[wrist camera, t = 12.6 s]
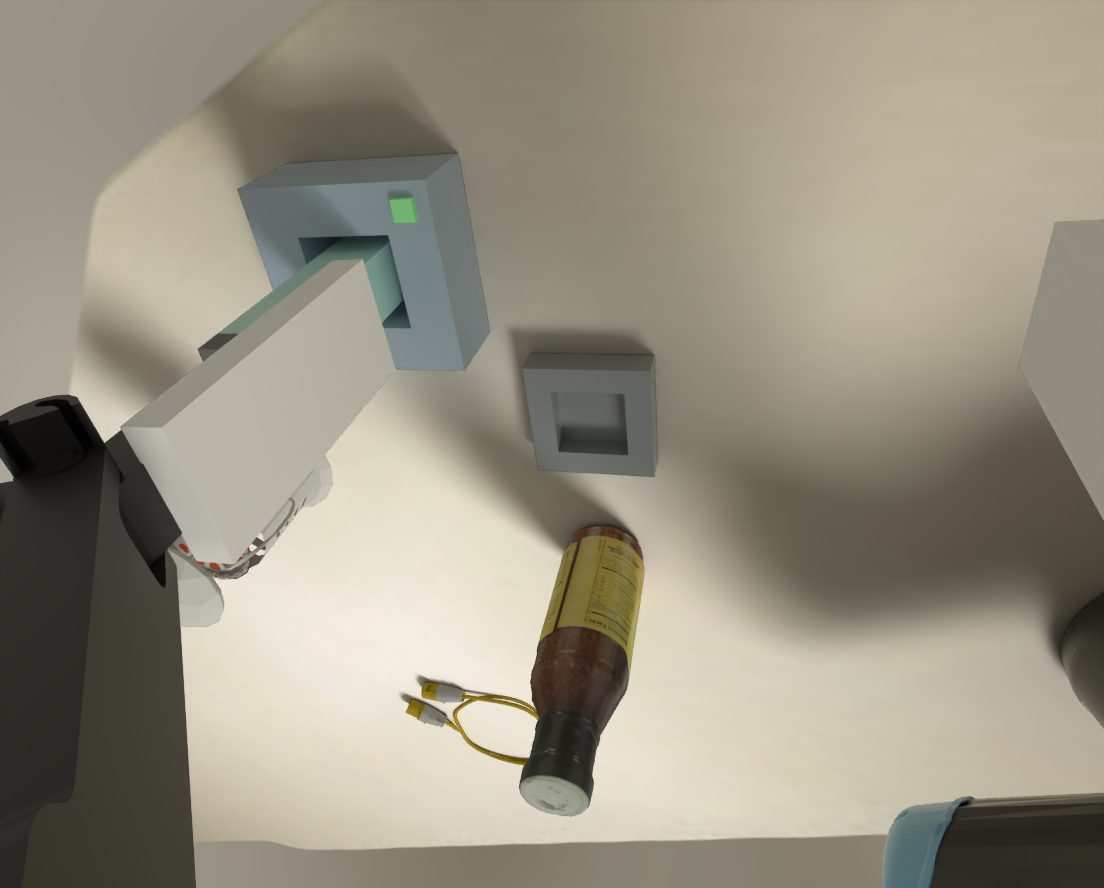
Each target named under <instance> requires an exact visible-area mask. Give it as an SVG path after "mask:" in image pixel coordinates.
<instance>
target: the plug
mask: <svg viewBox="0 0 1104 888" xmlns="http://www.w3.org/2000/svg"><path fill="white" fill-rule="evenodd" d="M354 259H363V261H364V265H365V268H366V272H367V275H368V278H369V282H370V285H371V288H372V292H373V295H374V298H375V302H376V305H377V308H378V312H379V315H380V319H381V322H383V321H384V320H385V319H386V318H387V317H388V316H389V315H390V314H391V313H392V312H393V311H394V309H395V308H396V307H397V306H398V305H399V304H400V303H401V302H402V301H403V300H404V297H403V293H402V289H401V285H400V281H399V277H398V273H397V269H396V265H395V261H394V257H393V252H392V248H391V244H390V240H389V236H388V235H374V236H343V237H342V238H340V239H339V240H338V241H337V242H335V243H334V244H333V245H331V246H330V247H329V248H328V249H326V250H325V251H324V252H322V253H321V254H320V255H318V256H317V257H316V258H315V259H313V260H312V261H311V262H309V263H308V264H307V265H306V266H304V267H303V268H302V269H300V270H299V271H298V272H297V273H295V274H294V275H293V276H291V277H290V278H289V279H288V280H286V281H285V282H284V283H282V284H281V285H280V286H278V287H277V288H276V289H275V290H273V291H272V292H271V293H269V294H268V295H267V296H266V297H264V298H263V299H262V300H260V301H259V302H258V303H257V304H255V305H254V306H253V307H251V308H250V309H249V310H248V311H246V312H245V313H244V314H242V315H241V316H240V317H239V318H237V319H236V320H235V321H233V322H232V323H231V324H229V325H228V326H227V327H226V328H224V329H223V330H222V331H220V332H219V333H218V334H217V335H215V336H214V337H213V338H211V339H210V340H209V341H208V342H206V343H205V344H204V345H202V346H201V347H200V348H199V349H198V351H199V354H200V356H201V358H202V360H203V361H205V360H206V359H207V358H209V357H210V356H211V355H212V354H214V353H215V352H216V351H218V350H219V349H220V348H221V347H223V346H224V345H225V344H226V343H228V342H229V341H230V340H232V339H233V338H234V337H235V336H237V335H238V334H239V333H240V332H242V331H243V330H244V329H246V328H247V327H248V326H249V325H251V324H252V323H253V322H254V321H256V320H257V319H258V318H260V317H261V316H262V315H263V314H265V313H266V312H267V311H269V310H270V309H271V308H272V307H274V306H275V305H276V304H277V303H279V302H280V301H281V300H283V299H284V298H285V297H286V296H288V295H289V294H290V293H291V292H293V291H294V290H295V289H297V288H298V287H299V286H300V285H302V284H303V283H304V282H305V281H307V280H308V279H309V278H311V277H312V276H313V275H314V274H316V273H317V272H318V271H320V270H321V269H322V268H323V267H325V266H326V265H327V264H328V263H330V262H331V261H335V260H354Z"/></svg>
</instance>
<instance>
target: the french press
mask: <svg viewBox="0 0 1104 888" xmlns="http://www.w3.org/2000/svg"><path fill="white" fill-rule="evenodd" d="M332 485H333V482H332V473H331V466H330V464H329V462H328V460H327V458H326V457H325V455H324V456H323V458H322V459H321V460H320V461H319V462H318V464H317V465H316V466H315V467H314V469H313V470H312V471H311V472H310V473H309V475H308V476H307V477H306V478H305V479H304V481H303V482H302V483H301V484H300V485H299V487H298V488H297V489H296V490H295V491H294V493H293V494H292V495H291V496H290V497H289V499H288V500H287V501H286V502H285V503H284V505H283V506H282V507H281V508H280V510H279V511H278V512H277V513H276V514H275V516H274V517H273V518H272V519H271V520H270V522H269V523H268V524H267V525H266V526H265V528H264V529H263V530H262V531H261V533H262V534H263V537H264V542H263V541H262V540H260V539H259V538H257V537H256V538H255V540H254V541H253V542H252V544H253V545H255V546H257V548H256V549H255V550H254V551H252V552H251V551H250V549H249V547H248V548H247V549H246V551H245V552H244V553H243V554H242V555H241V557H240V558H239V559H238V560H237V561H236V563H235V564H224V563H212V562H200V561H196V559H195V558H194V556H193V554H192V552H191V551H190V549H189V547H188V545H187V544H186V542H185V540H184V538H183V537H182V535H180V536H179V537H178V538H177V539H176V541H175V542H174V543H173V544H172V545H171V546H170V547H169V548H168V549H167V550H168V551H169V553H170V555H171V556H172V558H173V560H174V562H175V564H176V566H177V578H178V594H179V611H180V626H183V627H208V626H210V625H212V624H214V623H216V622H218V621H219V620H220V618H221V615H222V613H223V610H224V600H223V596H222V592H221V589H220V587H219V586H218V585H217V583H216V582H215V580H214V579H213V578H212V577H214V578H218V579H223V580H225V579H237V578H239V577H241V576H243V575H244V574H246V573H247V572H248V570H249V568H251V567H253V566H255V565H257V564H259V562H260V561H261V560H262V559H263V557H264V556H265V555H266V554H267V552H268V551H269V550H270V548H271V547H272V546H273V545H274V543H275V542H276V541H275V539H276V538H277V537H278V538H279V537H280V536H281V534H282V533H283V532H284V531H285V530H284V528H285V527H286V526H288V525H289V524H290V523H291V522H292V520H293V519H294V518H295V517H294V518H293V516H296V515H297V514H298V512H299V511H300V510H301V508H302V507H311V506H314V505H316V504H317V503H319V502H321V501H322V500H324V499H326V498H327V496H328V493H329V491H330V489H331V487H332ZM289 519H290V520H289ZM288 520H289V521H288ZM286 528H287V527H286ZM286 528H285V529H286ZM280 530H281V532H279V531H280ZM278 538H277V539H278ZM277 539H276V540H277ZM260 549H262V550H265V554H264V555H261V556H258V555H256V554H255V553H257V552H258V551H259V550H260Z"/></svg>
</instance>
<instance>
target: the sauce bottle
mask: <svg viewBox="0 0 1104 888" xmlns="http://www.w3.org/2000/svg"><path fill="white" fill-rule="evenodd" d="M643 580H644V565H643V554H642V551H641V548H640V546H639V544H638V543H637V542H636V541H635V540H634V539H633V538H632V537H631V536H630V535H628V534H626V533H624V532H623V531H622V530H619V529H617V528H615V527H612V526H594V527H588V528H584V529H581V530H580V531H578V532H577V533H575V535H574V536H573V537H572V539H571V541H570V542H569V544H568V546H567V549H566V551H565V553H564V554H563V557H562V560H561V565H560V568H559V572H558V575H557V579H556V582H555V586H554V590H553V593H552V597H551V600H550V604H549V608H548V611H547V615H546V618H545V622H544V625H543V629H542V632H541V636H540V640H539V643H538V647H537V657H536V660H535V664H534V667H533V670H532V673H531V681H530V684H531V690H532V701H533V703H534V706H535V708H536V710H537V713H538V717H539V719H538V721H537V724H536V728H535V731H536V733H535V738H534V741H533V745H532V750H531V754H530V758H529V759H528V760H527V762H526V764H525V765H524V767H523V770H522V774H521V780H520V785H519V789H520V794H521V795H522V797H523V798H524V799H525V801H526V802H527V803H529V804H530V805H531V806H533V807H535V808H537V809H538V810H540V811H544V812H546V813H550V814H555V815H560V816H576V815H579V814H581V813H583V812H584V811H585V810H586V809H587V808H588V807H589V805H590V801H591V796H592V791H593V785H594V781H593V777H592V772H593V766H594V761H595V754H596V749H597V747H598V745H599V741H600V735H601V733H602V732H603V730H604V728H605V727H606V725H607V723H608V721H609V720H610V718H611V716H612V714H613V713H614V711H615V709H616V707H617V706H618V704H619V702H620V701H621V699H622V698H623V696H624V695H625V692H626V690H627V686H628V681H629V675H630V668H631V661H632V654H633V647H634V640H635V633H636V626H637V620H638V614H639V608H640V600H641V593H642V587H643Z"/></svg>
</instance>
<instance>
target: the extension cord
mask: <svg viewBox="0 0 1104 888" xmlns="http://www.w3.org/2000/svg"><path fill="white" fill-rule="evenodd" d="M464 692H465V691H464V690H461V689H459V688H456V687H452V686H449V685H445V684H438V683H432V682H424V684H423V687H422V697H423V698H425V699H430V700H435V701H440V702H443V703H445V702H463V701H464V699H465V698H466V699H471V700H469V701H467V702H465V703H463V704H462V705H460V706H459V707H458V708H457V709H456V710H455V711H454V720H455V723H456V725H457V727H458V728H457V727H456V726H455V725H453V724H452V723H450V722H448V721H446V719H447V716H445V715H444V714H443V713H441V712H440V711H439V710H437V709H435V708H433V706H430V705H428V704H423V703H421V702H419V701H417V700H415V699H413V698H412V701H411V702H410V704H409V706H408V708H407V711H406V713H408V714H410V715H412V716H414V717H417V720H420V721H422V722H424V724H425V723H428V724H431V725H436V726H441V727H443V726H444V724H447V725H448V726H450V727H452V728H453V729H455V730H456V731H458V732H459V731H460V733H461V734H462V736H463V738H464V739H465V741H466V742H467V743H468V744H469V745H470V746H472V747H473V748H475V749H476V750H478V751H480V752H482V753H484V754H486V755H488V756H490V757H493V758H496V759H499V760H502V761H505V762H509V763H514V764H519V765H525V764H526V762H527V760H526V759H517V758H512V757H508V756H505V755H501V754H498V753H495V752H492V751H490V750H487V749H484V748H481V747H479V746H478V745H476V744H475V745H474V744H473V743H472V742H471V741H470V740H469V739H468V738H467V736H466V735H465V733H464V731H463V730H462V728H461V726H460V724H459V722H458V719H457V713H458V711H459V710H460V709H462V708H463V707H465V706H466V705H468V704H470V703H472V702H474V701H477V700H479V701H486V702H492V703H498V704H504V705H508V706H512V707H516V708H519V709H521V710H524V711H526V712H528V713H529V714H531V715H532V716H534V717H535V718H536V719H537V720H538V719H539V717H538V713H537V710H536V709H535V708H534V707H532V706H531V705H529V704H528V703H525V702H523V701H521V700H518V699H515V698H511V697H506V696H497V695H490V696H481V697H477V696H470V695H465V693H464ZM492 698H497V699H506V700H511V701H515V702H518V703H520V704H523V705H525V706H527V707H528V708H530V709H532V710H533V711H534V712H533V711H531V710H530V709H528V708H526V707H524V706H521V705H518V704H515V703H511V702H507V701H502V700H496V699H492ZM458 729H459V730H458ZM485 750H486V751H485ZM487 751H488V752H487ZM490 752H491V753H490ZM492 753H494V754H492ZM495 754H496V755H495ZM497 755H499V756H497ZM500 756H502V757H500ZM504 757H505V758H504ZM507 758H508V759H507Z"/></svg>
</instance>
